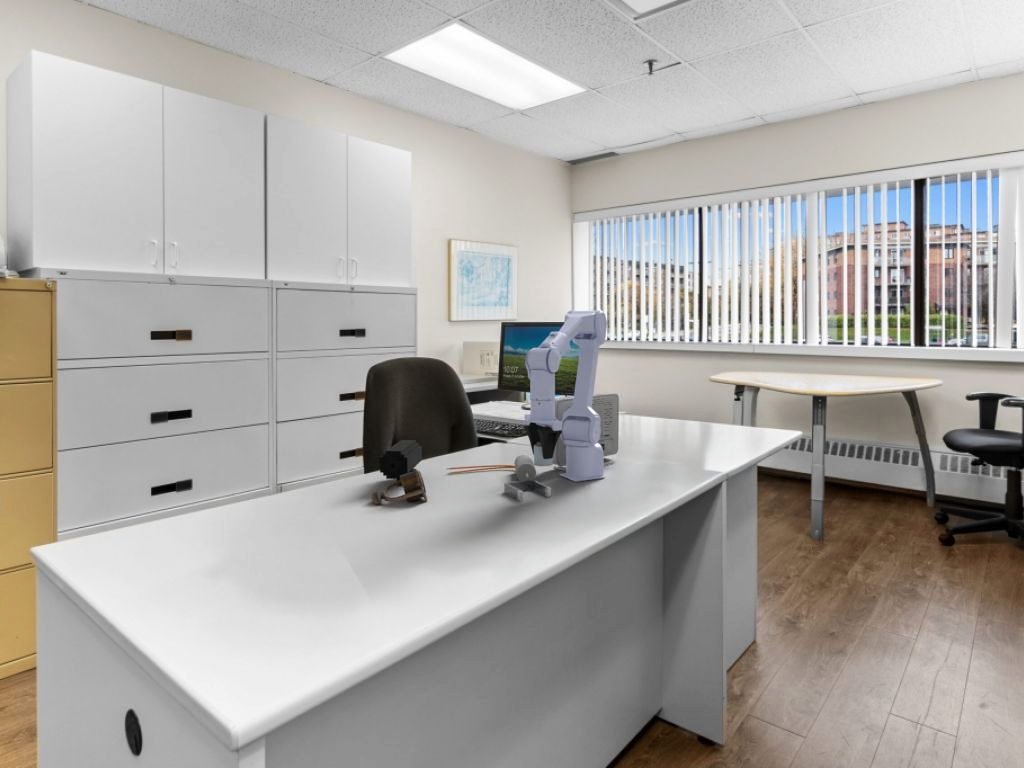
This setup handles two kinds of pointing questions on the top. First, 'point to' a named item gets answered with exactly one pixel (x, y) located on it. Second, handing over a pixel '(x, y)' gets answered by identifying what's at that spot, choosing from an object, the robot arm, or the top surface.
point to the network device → (602, 405)
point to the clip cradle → (525, 488)
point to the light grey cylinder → (540, 456)
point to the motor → (522, 466)
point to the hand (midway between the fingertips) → (542, 456)
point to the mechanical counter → (411, 487)
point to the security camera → (400, 459)
